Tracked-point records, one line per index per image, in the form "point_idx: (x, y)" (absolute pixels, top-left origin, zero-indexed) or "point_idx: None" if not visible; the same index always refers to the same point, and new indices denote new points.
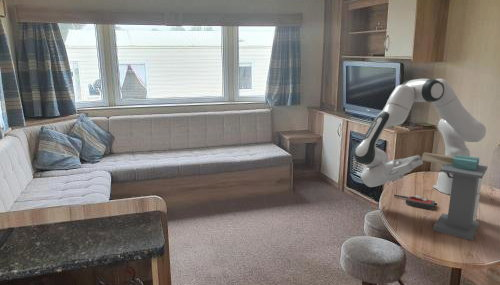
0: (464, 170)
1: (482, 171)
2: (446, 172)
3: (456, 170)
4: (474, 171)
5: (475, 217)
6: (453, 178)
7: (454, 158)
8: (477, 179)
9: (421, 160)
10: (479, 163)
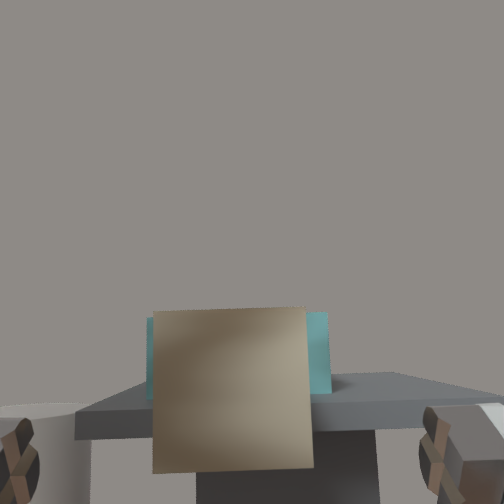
0: (357, 382)
1: None
2: None
3: (410, 385)
4: None
5: None
6: (376, 482)
7: (314, 313)
8: None
9: (479, 405)
10: (10, 408)
